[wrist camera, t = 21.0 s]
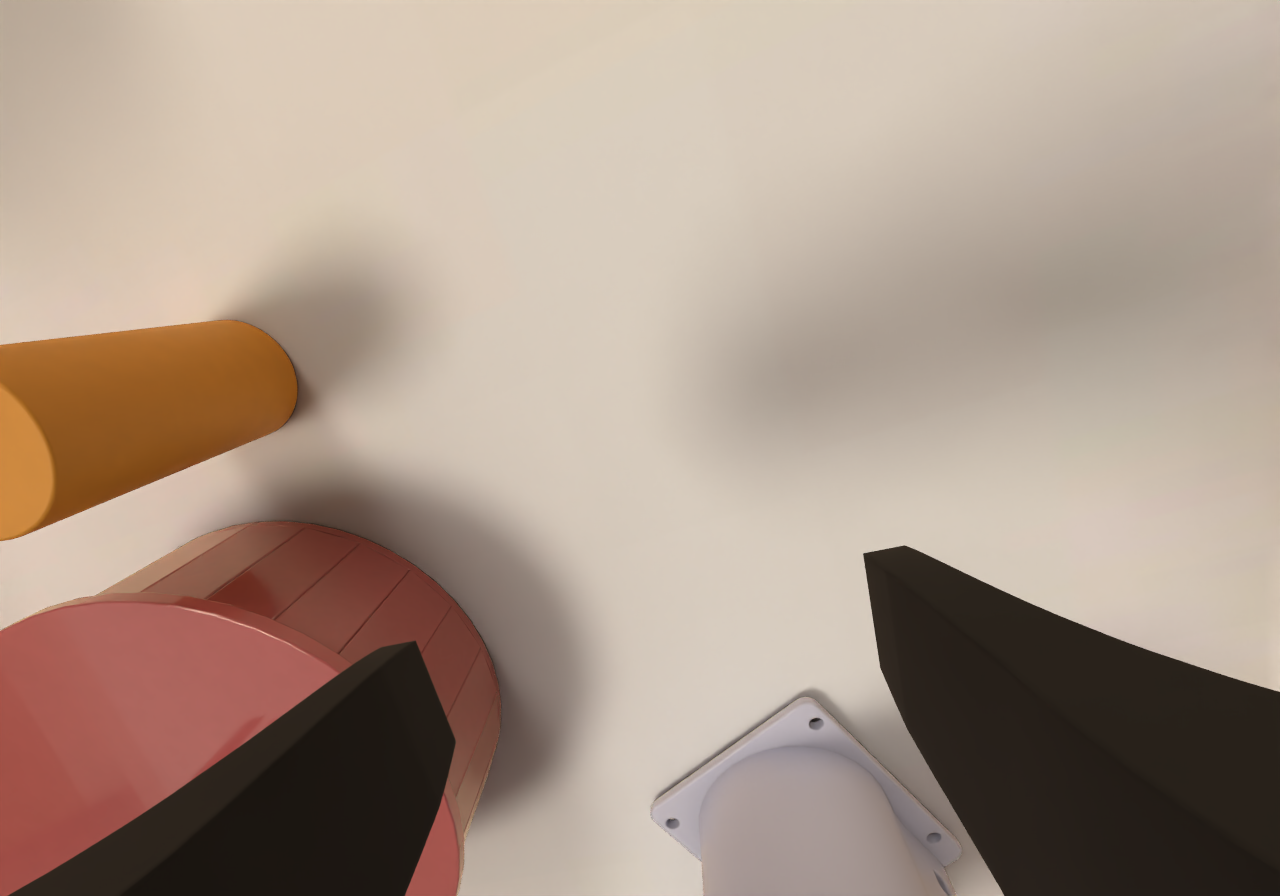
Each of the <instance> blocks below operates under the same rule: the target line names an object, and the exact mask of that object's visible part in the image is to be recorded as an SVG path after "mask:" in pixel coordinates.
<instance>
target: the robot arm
mask: <svg viewBox="0 0 1280 896" xmlns="http://www.w3.org/2000/svg"><path fill="white" fill-rule="evenodd" d="M863 555H864V562H865V569H866V575H867V582H868V589H869V595H870V602H871V609H872V615H873V622H874V628H875V635H876V642H877V648H878V655H879V662H880V668H881V670H882V673H883V675H884V677H885V680H886V682H887V684H888V687H889V689H890V691H891V694H892V696H893V698H894V701H895V703H896V705H897V707H898V709H899V712H900V714H901V716H902V718H903V721H904V723H905V725H906V727H907V729H908V731H909V733H910V735H911V737H912V738H913V740H914V742H915V744H916V745H917V747H918V749H919V750H920V752H921V754H922V756H923V757H924V759H925V761H926V763H927V764H928V766H929V768H930V769H931V771H932V773H933V775H934V776H935V778H936V780H937V781H938V783H939V785H940V787H941V788H942V790H943V792H944V793H945V795H946V797H947V798H948V800H949V802H950V804H951V805H952V807H953V809H954V810H955V812H956V814H957V815H958V817H959V819H960V820H961V822H962V824H963V826H964V827H965V829H966V831H967V832H968V834H969V836H970V837H971V839H972V841H973V843H974V844H975V846H976V848H977V849H978V851H979V853H980V854H981V856H982V858H983V860H984V861H985V863H986V865H987V866H988V868H989V870H990V871H991V873H992V875H993V877H994V878H995V880H996V882H997V883H998V885H999V887H1000V888H1001V890H1002V892H1003V894H1004V896H1280V692H1277V691H1274V690H1271V689H1267V688H1264V687H1260V686H1257V685H1254V684H1250V683H1247V682H1243V681H1240V680H1237V679H1234V678H1230V677H1227V676H1224V675H1221V674H1218V673H1215V672H1212V671H1209V670H1206V669H1203V668H1200V667H1197V666H1194V665H1191V664H1188V663H1185V662H1182V661H1179V660H1176V659H1173V658H1170V657H1167V656H1164V655H1161V654H1158V653H1155V652H1152V651H1149V650H1146V649H1143V648H1141V647H1138V646H1135V645H1132V644H1130V643H1127V642H1124V641H1121V640H1119V639H1116V638H1113V637H1111V636H1108V635H1106V634H1103V633H1101V632H1098V631H1096V630H1093V629H1091V628H1088V627H1086V626H1083V625H1081V624H1078V623H1076V622H1073V621H1071V620H1068V619H1066V618H1063V617H1061V616H1058V615H1056V614H1054V613H1051V612H1049V611H1047V610H1044V609H1042V608H1040V607H1037V606H1035V605H1033V604H1030V603H1028V602H1026V601H1024V600H1021V599H1019V598H1017V597H1015V596H1012V595H1010V594H1008V593H1006V592H1004V591H1002V590H999V589H997V588H995V587H993V586H991V585H989V584H987V583H984V582H982V581H980V580H978V579H976V578H974V577H972V576H970V575H968V574H965V573H963V572H961V571H959V570H957V569H955V568H953V567H951V566H949V565H947V564H945V563H943V562H941V561H938V560H936V559H934V558H932V557H930V556H928V555H926V554H924V553H921V552H919V551H917V550H915V549H912V548H910V547H907V546H900V547H894V548H889V549H884V550H879V551H874V552H869V553H864V554H863ZM814 718H820V719H819V720H818V721H816V722H811V719H814ZM455 745H456V739H455V737H454V734H453V732H452V729H451V727H450V724H449V722H448V719H447V717H446V714H445V712H444V709H443V707H442V705H441V702H440V700H439V697H438V695H437V692H436V690H435V687H434V685H433V682H432V680H431V677H430V675H429V672H428V670H427V667H426V665H425V662H424V660H423V657H422V655H421V652H420V650H419V647H418V645H417V642H416V640H415V641H410V642H405V643H400V644H395V645H389V646H384V647H381V648H379V649H377V650H375V651H373V652H372V653H370V654H368V655H367V656H365V657H363V658H362V659H360V660H359V661H357V662H356V663H354V664H353V665H351V666H350V667H348V668H347V669H345V670H344V671H343V672H341V673H340V674H338V675H337V676H336V677H334V678H333V679H331V680H330V681H329V682H327V683H326V684H324V685H323V686H322V687H320V688H319V689H318V690H316V691H315V692H313V693H312V694H311V695H309V696H308V697H307V698H305V699H304V700H303V701H301V702H300V703H298V704H297V705H296V706H294V707H293V708H292V709H290V710H289V711H288V712H286V713H285V714H284V715H282V716H281V717H279V718H278V719H277V720H275V721H274V722H273V723H271V724H270V725H269V726H267V727H266V728H265V729H263V730H262V731H260V732H259V733H258V734H256V735H255V736H254V737H252V738H251V739H250V740H248V741H247V742H245V743H244V744H242V745H241V746H240V747H238V748H237V749H235V750H234V751H232V752H231V753H230V754H228V755H227V756H225V757H224V758H223V759H221V760H220V761H218V762H217V763H215V764H214V765H213V766H211V767H210V768H208V769H207V770H205V771H204V772H203V773H201V774H200V775H198V776H197V777H196V778H194V779H193V780H191V781H190V782H188V783H187V784H186V785H184V786H183V787H181V788H180V789H178V790H177V791H176V792H174V793H173V794H171V795H170V796H168V797H167V798H165V799H164V800H162V801H161V802H159V803H158V804H156V805H155V806H153V807H152V808H150V809H149V810H147V811H146V812H144V813H143V814H141V815H140V816H138V817H137V818H135V819H133V820H132V821H130V822H129V823H127V824H126V825H124V826H123V827H121V828H119V829H118V830H116V831H115V832H113V833H111V834H110V835H108V836H107V837H105V838H103V839H102V840H100V841H99V842H97V843H95V844H94V845H92V846H91V847H89V848H87V849H86V850H84V851H83V852H81V853H79V854H78V855H76V856H75V857H73V858H71V859H70V860H68V861H66V862H65V863H63V864H61V865H60V866H58V867H56V868H55V869H53V870H51V871H50V872H48V873H46V874H45V875H43V876H41V877H39V878H38V879H36V880H34V881H32V882H31V883H29V884H27V885H25V886H23V887H22V888H20V889H18V890H16V891H15V892H13V893H11V894H9V895H8V896H405V894H406V892H407V889H408V887H409V884H410V882H411V879H412V877H413V874H414V872H415V869H416V867H417V864H418V862H419V859H420V857H421V854H422V851H423V849H424V846H425V844H426V841H427V839H428V836H429V833H430V831H431V828H432V826H433V823H434V820H435V818H436V815H437V812H438V810H439V807H440V804H441V800H442V797H443V793H444V789H445V786H446V782H447V778H448V774H449V770H450V766H451V762H452V757H453V753H454V749H455ZM651 818H652V819H653V821H654V822H655V823H657V824H658V825H659V826H660V827H661V828H662V829H664V830H665V831H666V832H667V833H668V834H669V835H670V836H672V837H673V838H674V839H675V840H676V841H677V842H679V843H680V844H681V845H682V846H683V847H684V848H686V849H687V850H688V851H689V852H690V853H691V854H693V855H694V856H695V857H696V858H697V859H698V860H700V861H701V862H702V878H703V894H704V896H957V895H956V893H955V891H954V889H953V886H952V884H951V882H950V880H949V878H948V876H947V874H946V871H945V869H944V867H946V866H947V865H949V864H951V863H952V862H954V861H956V860H957V859H958V858H960V856H961V854H962V848H961V846H960V844H959V842H958V840H957V839H956V838H955V837H954V836H953V835H952V834H951V833H950V832H949V831H948V830H947V829H946V828H945V827H944V826H943V825H942V824H941V823H940V822H939V821H938V820H937V819H936V818H935V817H934V816H933V815H932V814H931V813H930V812H929V811H928V810H927V809H926V808H925V807H924V806H923V805H922V804H921V803H920V802H919V801H918V800H917V799H916V798H915V797H914V796H913V795H912V794H911V793H910V792H909V791H908V790H907V789H906V788H905V787H904V786H903V785H901V784H900V783H899V782H898V781H897V780H896V779H895V778H894V777H893V776H892V775H891V774H890V773H889V772H888V771H887V770H886V769H885V768H884V767H883V766H882V765H881V764H880V763H879V762H878V761H877V760H876V759H875V758H874V757H873V756H872V755H871V754H870V753H869V752H868V751H867V750H866V749H865V748H864V747H863V746H862V745H861V744H860V743H859V742H858V741H857V740H856V739H855V738H854V737H853V736H852V735H851V734H850V733H849V732H848V731H847V730H846V729H844V728H843V727H842V726H841V725H840V724H839V723H838V722H837V721H836V720H835V719H834V718H833V717H832V716H831V715H830V714H829V713H828V712H827V711H826V710H825V709H824V708H823V707H822V706H821V705H820V704H819V703H818V702H817V701H816V700H814V699H813V698H810V697H801V698H799V699H797V700H795V701H794V702H792V703H791V704H790V705H788V706H787V707H785V708H784V709H783V710H781V711H780V712H778V713H777V714H776V715H774V716H773V717H771V718H770V719H769V720H767V721H766V722H764V723H763V724H762V725H760V726H759V727H757V728H756V729H755V730H753V731H752V732H750V733H749V734H748V735H746V736H745V737H743V738H742V739H741V740H739V741H738V742H736V743H735V744H733V745H732V746H731V747H729V748H728V749H726V750H725V751H724V752H722V753H721V754H719V755H718V756H717V757H715V758H714V759H712V760H711V761H710V762H708V763H707V764H705V765H704V766H703V767H701V768H700V769H698V770H697V771H696V772H694V773H693V774H691V775H690V776H689V777H687V778H686V779H684V780H683V781H681V782H680V783H679V784H677V785H676V786H674V787H673V788H672V789H670V790H669V791H667V792H666V793H665V794H663V795H662V796H660V797H659V798H658V799H656V800H655V801H654V802H653V803H652V805H651ZM670 818H675V820H670ZM930 833H931V834H930Z"/></svg>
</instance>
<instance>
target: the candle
mask: <svg viewBox="0 0 1280 896" xmlns="http://www.w3.org/2000/svg"><path fill="white" fill-rule="evenodd" d="M297 390H298V389H297V380H296V375H295V372H294V369H293V366H292V364H291V362H290V360H289V358H288V356H287V355H286V353H285V352H284V350H283V349H282V348H281V347H280V345H279V344H278V343H277V342H276V341H275V340H274V339H273V338H271V337H270V336H269V335H268V334H266V333H265V332H263V331H262V330H260V329H258V328H256V327H254V326H252V325H249V324H247V323H244V322H240V321H234V320H218V321H209V322H200V323H191V324H182V325H174V326H165V327H156V328H147V329H138V330H129V331H120V332H111V333H102V334H94V335H85V336H76V337H67V338H58V339H49V340H40V341H31V342H22V343H13V344H5V345H0V541H4V540H11V539H15V538H18V537H21V536H24V535H26V534H29V533H31V532H33V531H36V530H38V529H41V528H43V527H46V526H48V525H50V524H53V523H55V522H58V521H60V520H62V519H65V518H67V517H70V516H72V515H75V514H77V513H79V512H82V511H84V510H87V509H89V508H91V507H94V506H96V505H99V504H101V503H104V502H106V501H108V500H111V499H113V498H116V497H118V496H121V495H123V494H125V493H128V492H130V491H133V490H135V489H137V488H140V487H142V486H145V485H147V484H150V483H152V482H154V481H157V480H159V479H162V478H164V477H166V476H169V475H171V474H174V473H176V472H179V471H181V470H183V469H186V468H188V467H191V466H193V465H195V464H198V463H200V462H203V461H205V460H208V459H210V458H212V457H215V456H217V455H220V454H222V453H225V452H227V451H229V450H232V449H234V448H237V447H239V446H241V445H244V444H246V443H249V442H251V441H254V440H256V439H258V438H261V437H263V436H266V435H268V434H270V433H272V432H274V431H276V430H278V429H279V428H280V427H282V426H283V425H284V424H285V423H286V421H287V420H288V419H289V418H290V416H291V414H292V412H293V410H294V407H295V404H296V400H297Z"/></svg>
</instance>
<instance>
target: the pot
mask: <svg viewBox="0 0 1280 896" xmlns="http://www.w3.org/2000/svg"><path fill="white" fill-rule="evenodd" d="M136 592H155V593H165V594H175V595H185V596H193V597H197V598H202V599H206V600H211V601H216V602H220V603H225V604H229V605H233V606H236V607H239V608H242V609H245V610H248V611H251V612H254V613H257V614H260V615H263V616H266V617H268V618H271V619H273V620H275V621H277V622H279V623H282V624H284V625H286V626H288V627H291V628H293V629H295V630H297V631H299V632H302V633H304V634H306V635H307V636H309V637H311V638H312V639H314V640H316V641H318V642H319V643H321V644H323V645H324V646H326V647H328V648H330V649H331V650H333V651H335V652H336V653H338V654H339V655H341V656H342V657H343V658H345V659H346V660H348V661H349V662H350V663H352V664H354V663H356V662H357V661H359V660H360V659H362V658H363V657H365V656H367V655H368V654H370V653H372V652H373V651H375V650H377V649H379V648H381V647H384V646H389V645H395V644H400V643H405V642H410V641H415V640H416V642H417V645H418V647H419V650H420V652H421V655H422V657H423V660H424V662H425V665H426V667H427V670H428V672H429V675H430V677H431V680H432V682H433V685H434V687H435V690H436V692H437V695H438V697H439V700H440V702H441V705H442V707H443V709H444V712H445V714H446V717H447V719H448V722H449V724H450V727H451V729H452V732H453V734H454V737H455V739H456V745H455V749H454V753H453V757H452V762H451V766H450V770H449V774H448V778H449V780H450V782H451V785H452V788H453V791H454V794H455V797H456V800H457V803H458V806H459V809H460V815H461V821H462V827H463V833H464V842H465V840H466V837H467V834H468V831H469V828H470V825H471V822H472V820H473V817H474V814H475V811H476V808H477V805H478V802H479V800H480V797H481V794H482V791H483V788H484V785H485V783H486V780H487V777H488V774H489V771H490V767H491V764H492V760H493V756H494V753H495V750H496V748H497V744H498V738H499V733H500V728H501V699H500V692H499V684H498V681H497V677H496V674H495V670H494V666H493V663H492V661H491V658H490V656H489V654H488V651H487V649H486V647H485V645H484V642H483V640H482V639H481V637H480V635H479V634H478V632H477V631H476V629H475V627H474V626H473V624H472V622H471V621H470V619H469V618H468V617H467V616H466V614H465V613H464V612H463V611H462V609H461V608H460V607H459V606H458V604H457V603H456V602H455V601H454V599H452V598H451V597H450V596H449V595H448V594H447V593H446V592H445V591H444V590H443V589H442V588H441V587H440V586H439V585H438V584H437V583H436V582H435V581H434V580H433V579H431V578H430V577H429V576H428V575H426V574H425V573H424V572H422V571H421V570H420V569H419V568H417V567H416V566H415V565H413V564H412V563H410V562H408V561H407V560H405V559H403V558H402V557H400V556H399V555H397V554H395V553H394V552H392V551H390V550H388V549H386V548H384V547H382V546H380V545H378V544H376V543H373V542H371V541H369V540H367V539H365V538H362V537H359V536H356V535H353V534H350V533H347V532H344V531H341V530H338V529H333V528H329V527H324V526H320V525H315V524H309V523H299V522H289V521H271V522H254V523H247V524H241V525H234V526H230V527H227V528H223V529H220V530H217V531H213V532H210V533H208V534H206V535H203V536H200V537H198V538H196V539H194V540H192V541H190V542H188V543H187V544H185V545H183V546H181V547H180V548H178V549H176V550H174V551H173V552H171V553H169V554H167V555H165V556H164V557H162V558H160V559H158V560H157V561H155V562H153V563H151V564H150V565H148V566H146V567H144V568H143V569H141V570H139V571H137V572H136V573H134V574H132V575H130V576H129V577H127V578H125V579H123V580H122V581H120V582H118V583H116V584H115V585H113V586H111V587H109V588H108V589H106V590H104V591H102V592H101V593H99V594H97V595H104V594H111V593H136ZM97 595H95V596H97Z"/></svg>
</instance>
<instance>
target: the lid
mask: <svg viewBox="0 0 1280 896" xmlns="http://www.w3.org/2000/svg"><path fill="white" fill-rule="evenodd" d="M351 665H353V664H352V663H350V662H349V661H348V660H346V659H345V658H343V657H342V656H341V655H339V654H338V653H336V652H335V651H333V650H331V649H330V648H328V647H326V646H324V645H323V644H321V643H319V642H318V641H316V640H314V639H312V638H311V637H309V636H307V635H306V634H304V633H302V632H299V631H297V630H295V629H293V628H291V627H288V626H286V625H284V624H282V623H279V622H277V621H275V620H273V619H271V618H268V617H266V616H263V615H260V614H257V613H254V612H251V611H248V610H245V609H242V608H239V607H236V606H233V605H229V604H225V603H220V602H216V601H211V600H206V599H202V598H197V597H193V596H185V595H175V594H165V593H155V592H136V593H111V594H104V595H97V596H90V597H83V598H78V599H74V600H71V601H67V602H64V603H61V604H57V605H54V606H50V607H47V608H45V609H42V610H40V611H38V612H36V613H34V614H32V615H30V616H27V617H25V618H23V619H21V620H19V621H17V622H15V623H13V624H11V625H10V626H8V627H6V628H4V629H2V630H1V631H0V896H8V895H9V894H11V893H13V892H15V891H16V890H18V889H20V888H22V887H23V886H25V885H27V884H29V883H31V882H32V881H34V880H36V879H38V878H39V877H41V876H43V875H45V874H46V873H48V872H50V871H51V870H53V869H55V868H56V867H58V866H60V865H61V864H63V863H65V862H66V861H68V860H70V859H71V858H73V857H75V856H76V855H78V854H79V853H81V852H83V851H84V850H86V849H87V848H89V847H91V846H92V845H94V844H95V843H97V842H99V841H100V840H102V839H103V838H105V837H107V836H108V835H110V834H111V833H113V832H115V831H116V830H118V829H119V828H121V827H123V826H124V825H126V824H127V823H129V822H130V821H132V820H133V819H135V818H137V817H138V816H140V815H141V814H143V813H144V812H146V811H147V810H149V809H150V808H152V807H153V806H155V805H156V804H158V803H159V802H161V801H162V800H164V799H165V798H167V797H168V796H170V795H171V794H173V793H174V792H176V791H177V790H178V789H180V788H181V787H183V786H184V785H186V784H187V783H188V782H190V781H191V780H193V779H194V778H196V777H197V776H198V775H200V774H201V773H203V772H204V771H205V770H207V769H208V768H210V767H211V766H213V765H214V764H215V763H217V762H218V761H220V760H221V759H223V758H224V757H225V756H227V755H228V754H230V753H231V752H232V751H234V750H235V749H237V748H238V747H240V746H241V745H242V744H244V743H245V742H247V741H248V740H250V739H251V738H252V737H254V736H255V735H256V734H258V733H259V732H260V731H262V730H263V729H265V728H266V727H267V726H269V725H270V724H271V723H273V722H274V721H275V720H277V719H278V718H279V717H281V716H282V715H284V714H285V713H286V712H288V711H289V710H290V709H292V708H293V707H294V706H296V705H297V704H298V703H300V702H301V701H303V700H304V699H305V698H307V697H308V696H309V695H311V694H312V693H313V692H315V691H316V690H318V689H319V688H320V687H322V686H323V685H324V684H326V683H327V682H329V681H330V680H331V679H333V678H334V677H336V676H337V675H338V674H340V673H341V672H343V671H344V670H345V669H347V668H348V667H350V666H351ZM463 868H464V833H463V827H462V821H461V815H460V809H459V806H458V803H457V800H456V797H455V794H454V791H453V788H452V785H451V782H450V780H449V778H447V782H446V786H445V789H444V793H443V797H442V800H441V804H440V807H439V810H438V812H437V815H436V818H435V820H434V823H433V826H432V828H431V831H430V833H429V836H428V839H427V841H426V844H425V846H424V849H423V851H422V854H421V857H420V859H419V862H418V864H417V867H416V869H415V872H414V874H413V877H412V879H411V882H410V884H409V887H408V889H407V892H406V894H405V896H457V895H458V892H459V889H460V884H461V879H462V873H463Z"/></svg>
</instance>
